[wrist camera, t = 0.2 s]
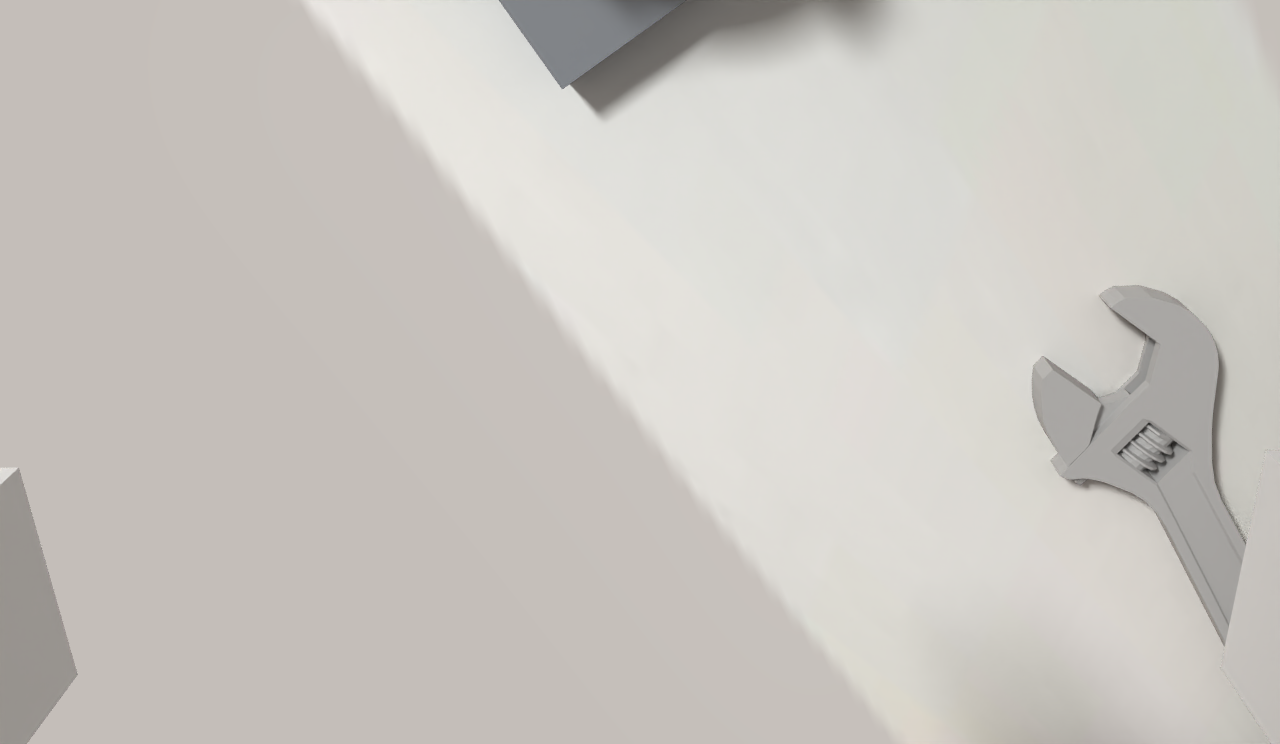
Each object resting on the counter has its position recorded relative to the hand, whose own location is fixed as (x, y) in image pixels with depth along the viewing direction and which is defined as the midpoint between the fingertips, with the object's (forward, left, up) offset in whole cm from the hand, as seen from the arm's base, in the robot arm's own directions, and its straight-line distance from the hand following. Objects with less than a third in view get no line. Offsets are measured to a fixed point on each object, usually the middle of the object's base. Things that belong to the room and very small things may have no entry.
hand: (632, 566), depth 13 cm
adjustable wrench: (+18, +21, -28) cm, 39 cm away
